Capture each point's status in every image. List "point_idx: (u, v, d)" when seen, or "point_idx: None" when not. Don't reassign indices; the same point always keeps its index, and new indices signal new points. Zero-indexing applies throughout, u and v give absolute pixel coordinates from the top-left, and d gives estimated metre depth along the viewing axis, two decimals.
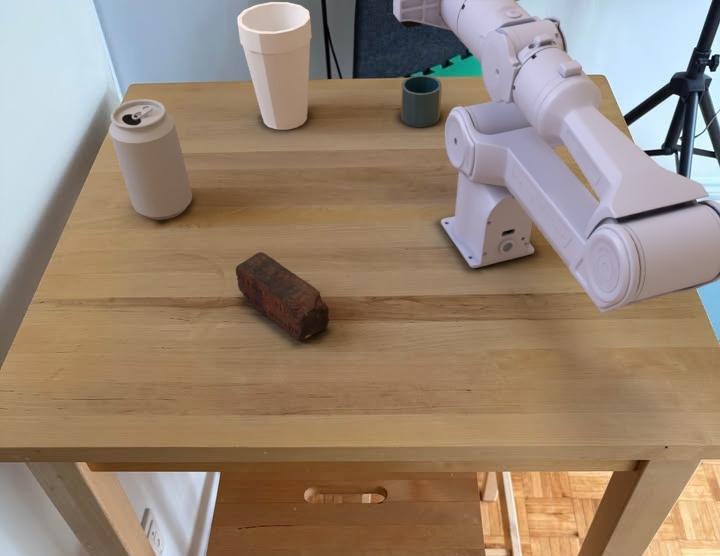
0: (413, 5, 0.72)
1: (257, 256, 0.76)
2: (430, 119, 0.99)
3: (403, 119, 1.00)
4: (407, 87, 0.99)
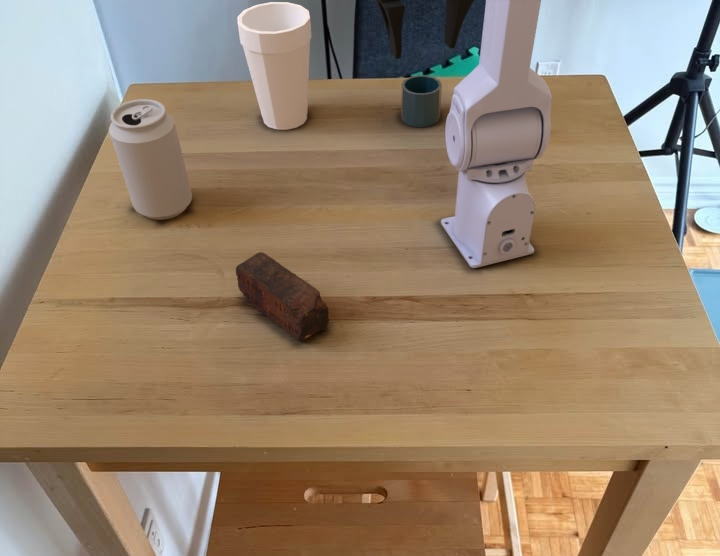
0: None
1: (257, 256, 0.76)
2: (430, 119, 0.99)
3: (403, 119, 1.00)
4: (407, 87, 0.99)
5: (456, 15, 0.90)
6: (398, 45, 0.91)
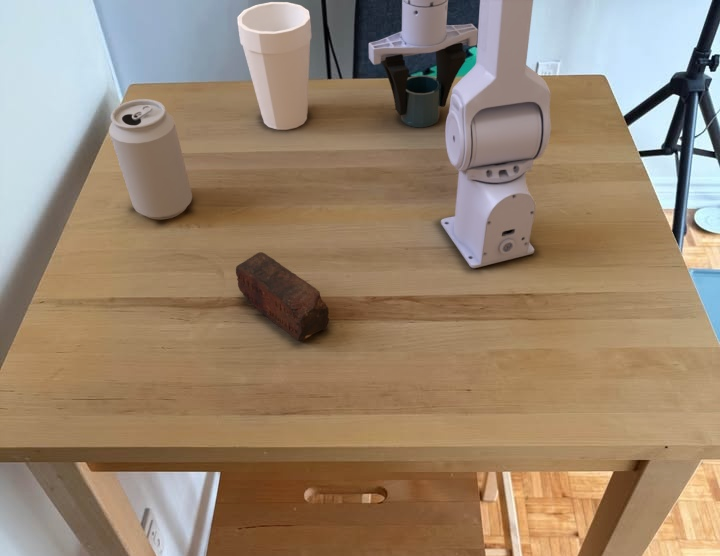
0: None
1: (257, 256, 0.76)
2: (430, 119, 0.99)
3: (403, 119, 1.00)
4: (407, 87, 0.99)
5: (446, 78, 0.96)
6: (402, 103, 0.97)
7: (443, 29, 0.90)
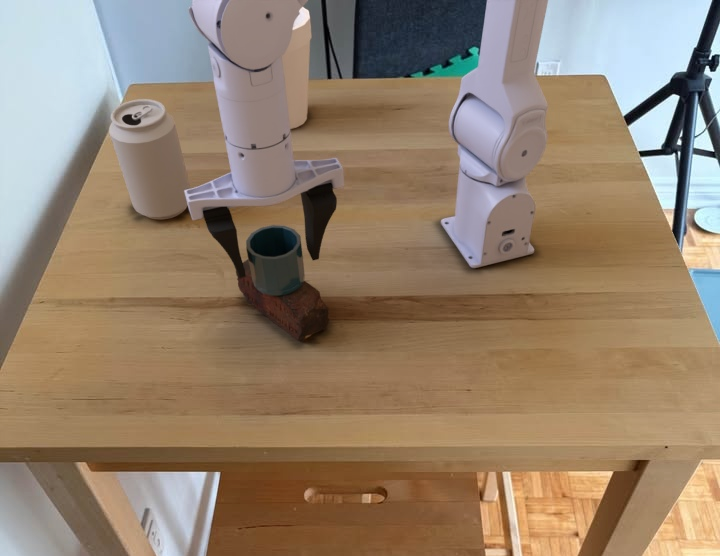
0: None
1: None
2: (288, 286, 0.72)
3: (254, 283, 0.73)
4: (257, 241, 0.72)
5: (313, 228, 0.68)
6: (238, 265, 0.69)
7: (287, 174, 0.63)
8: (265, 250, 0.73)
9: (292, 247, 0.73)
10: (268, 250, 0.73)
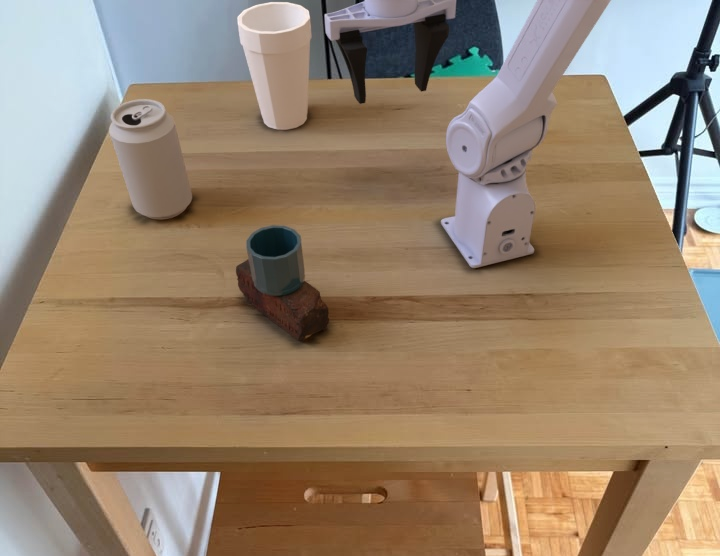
0: None
1: None
2: (289, 286, 0.72)
3: (254, 283, 0.73)
4: (257, 241, 0.72)
5: (426, 56, 0.80)
6: (361, 89, 0.81)
7: None
8: (265, 250, 0.73)
9: (292, 247, 0.73)
10: (268, 250, 0.73)
